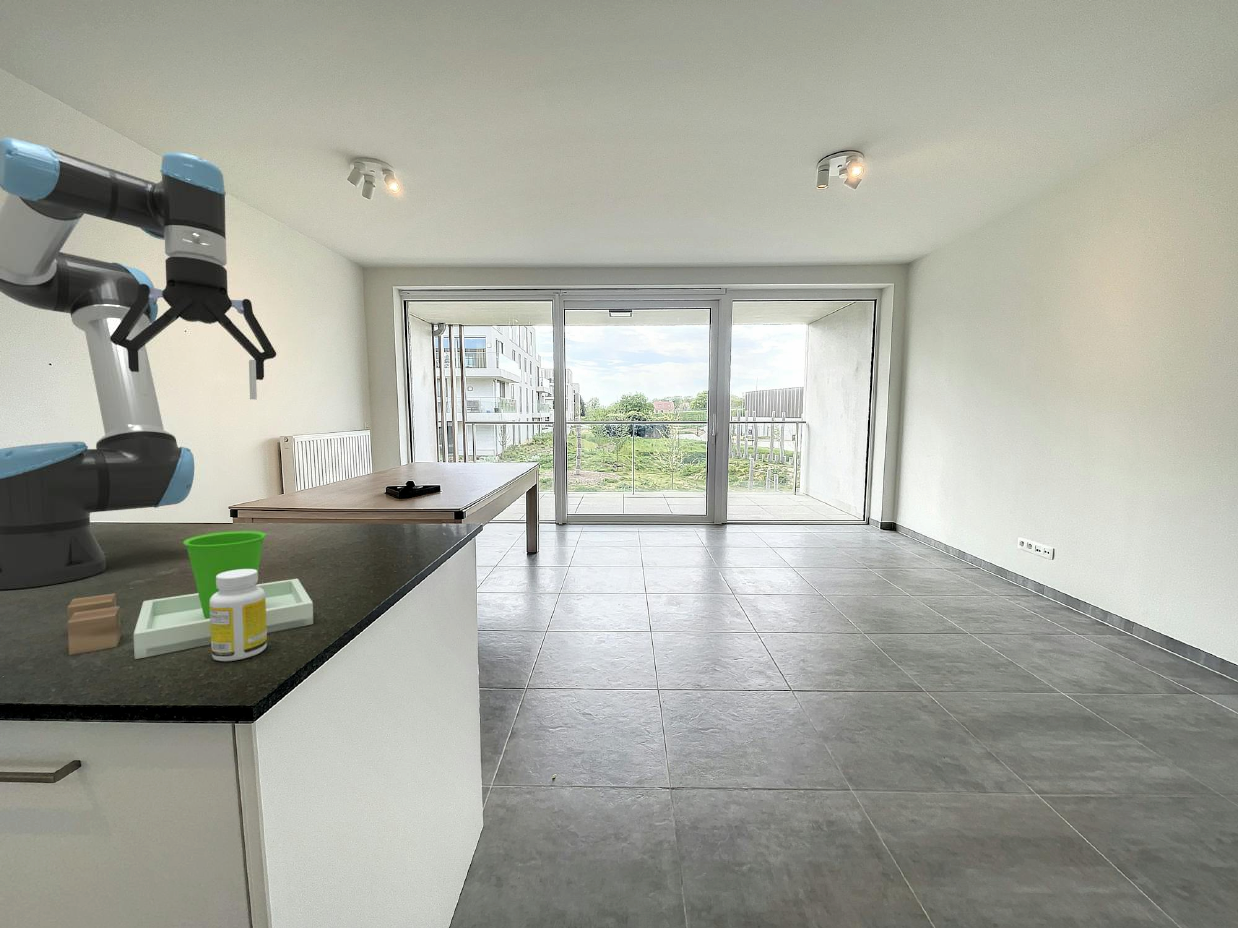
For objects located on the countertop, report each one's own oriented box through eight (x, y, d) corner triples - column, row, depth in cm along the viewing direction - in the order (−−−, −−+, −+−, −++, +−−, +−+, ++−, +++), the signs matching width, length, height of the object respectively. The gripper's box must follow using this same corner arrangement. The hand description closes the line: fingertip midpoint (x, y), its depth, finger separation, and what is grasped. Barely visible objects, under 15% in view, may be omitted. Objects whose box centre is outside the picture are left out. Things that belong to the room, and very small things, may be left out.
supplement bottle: (268, 639, 65) (266, 564, 64) (266, 656, 61) (263, 575, 60) (214, 648, 62) (211, 570, 62) (208, 666, 58) (205, 582, 57)
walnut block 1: (74, 628, 68) (73, 599, 67) (116, 621, 70) (115, 593, 70) (68, 638, 65) (67, 607, 64) (113, 630, 67) (111, 601, 67)
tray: (144, 622, 70) (143, 601, 70) (298, 596, 81) (297, 578, 81) (134, 659, 59) (133, 634, 59) (313, 623, 70) (312, 602, 70)
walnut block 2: (76, 643, 63) (74, 612, 63) (121, 636, 65) (119, 606, 65) (69, 655, 60) (67, 622, 60) (116, 647, 62) (115, 615, 62)
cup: (224, 631, 65) (221, 547, 64) (167, 625, 67) (164, 542, 66) (284, 607, 74) (282, 533, 73) (232, 602, 75) (230, 529, 75)
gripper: (78, 235, 70) (86, 391, 71) (293, 273, 85) (295, 400, 87) (87, 249, 75) (95, 393, 77) (287, 282, 91) (289, 401, 93)
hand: (201, 397), depth 82 cm, fingers open, 13 cm apart
